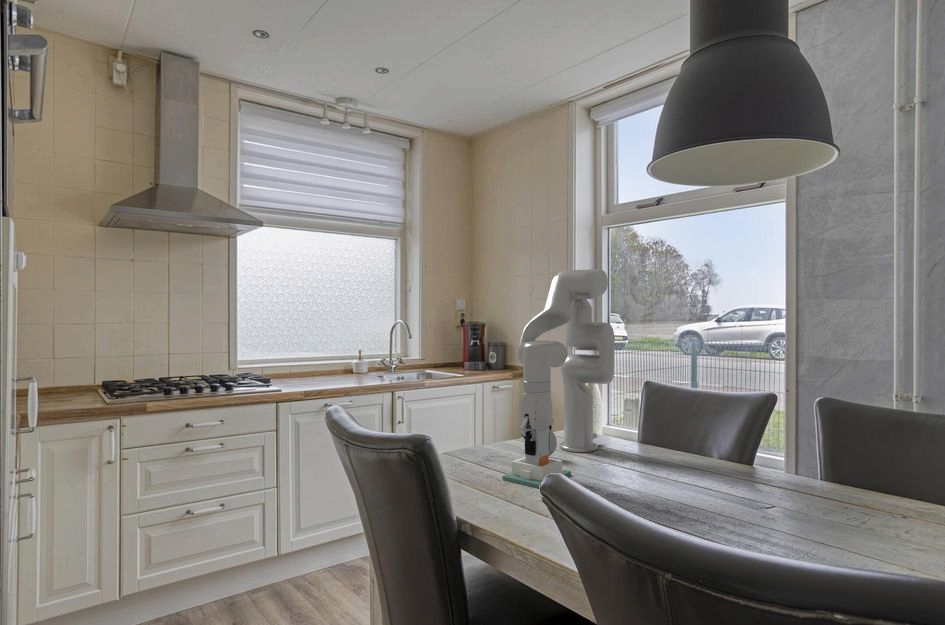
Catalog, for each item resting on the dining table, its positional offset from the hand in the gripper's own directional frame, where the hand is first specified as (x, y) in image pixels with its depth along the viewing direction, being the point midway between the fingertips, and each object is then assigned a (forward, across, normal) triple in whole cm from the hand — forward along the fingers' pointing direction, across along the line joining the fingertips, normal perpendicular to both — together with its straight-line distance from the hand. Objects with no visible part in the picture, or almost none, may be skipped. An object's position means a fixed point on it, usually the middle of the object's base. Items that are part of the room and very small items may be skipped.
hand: (537, 451), depth 152 cm
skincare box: (+5, 0, 0) cm, 5 cm away
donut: (+7, -19, -11) cm, 23 cm away
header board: (+7, 0, 0) cm, 7 cm away
